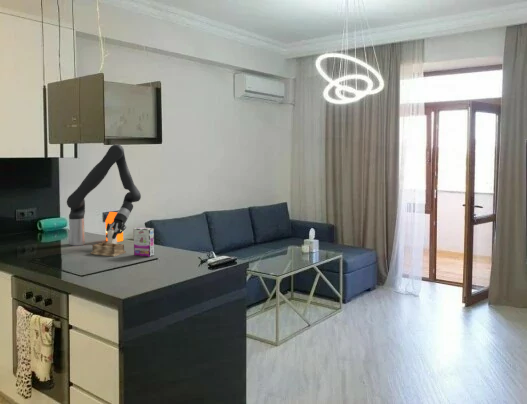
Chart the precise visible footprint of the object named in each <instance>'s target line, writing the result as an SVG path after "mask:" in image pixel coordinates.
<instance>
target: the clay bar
mask: <svg viewBox="0 0 527 404" xmlns="http://www.w3.org/2000/svg"><path fill="white" fill-rule="evenodd" d="M114 232H115V230H109V231H107V236H108V241H107V243H113V244H118V242H117V236H116V238H115V239H113V238H112V236H113V234H114Z"/></svg>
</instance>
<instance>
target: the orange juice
mask: <svg viewBox="0 0 527 404" xmlns="http://www.w3.org/2000/svg"><path fill="white" fill-rule="evenodd" d="M117 212H118V211H109V212H108V214H107V216H106V218H105V229H106V228H107V224H108V223H109V224H112V222H113V221H114V218H115V216H116V214H117ZM112 229H113V228H112ZM106 235H107V231H106V230H105V236H106ZM123 241H124V231H123V232H122V233H121V234H118V235H117V243H120V242H123ZM105 242H108V238H106V237H105Z"/></svg>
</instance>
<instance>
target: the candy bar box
mask: <svg viewBox="0 0 527 404" xmlns="http://www.w3.org/2000/svg"><path fill="white" fill-rule="evenodd" d="M154 232H155V228H153V227H151V228H150V227H135V228H133V255H134V256H135V257H147V258H149V257H153V256H155V233H154Z"/></svg>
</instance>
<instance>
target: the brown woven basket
mask: <svg viewBox="0 0 527 404" xmlns="http://www.w3.org/2000/svg"><path fill="white" fill-rule="evenodd" d="M91 247H92V249H91V250H92V251H90V255H95V256H96V255H97V256H104V257H106V256H107V257H116V256H119V255H120V256H121V255H124V254H126V253H127V251H126V250H125V244H123V243H122V244H121V243H117V244H113V243H108V242H100V243H96V244H93V245H92V246H91Z"/></svg>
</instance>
